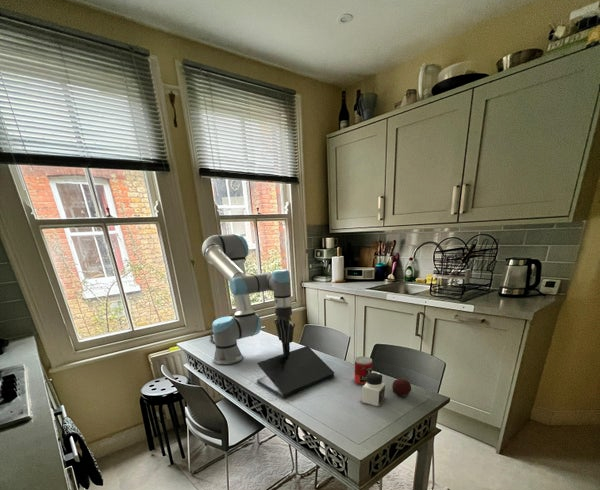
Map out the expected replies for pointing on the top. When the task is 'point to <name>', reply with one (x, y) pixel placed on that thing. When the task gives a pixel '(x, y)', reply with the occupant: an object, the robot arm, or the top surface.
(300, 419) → the top surface
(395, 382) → the red apple
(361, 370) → the canned food
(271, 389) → the laptop
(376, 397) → the medicine bottle
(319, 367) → the laptop screen
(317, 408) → the top surface
